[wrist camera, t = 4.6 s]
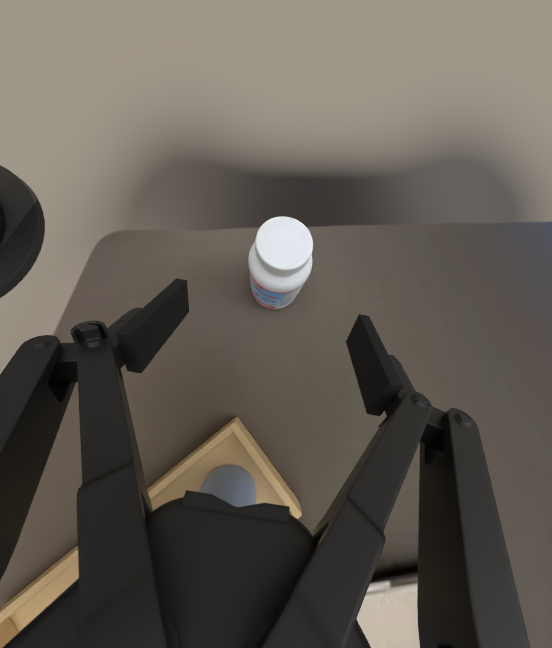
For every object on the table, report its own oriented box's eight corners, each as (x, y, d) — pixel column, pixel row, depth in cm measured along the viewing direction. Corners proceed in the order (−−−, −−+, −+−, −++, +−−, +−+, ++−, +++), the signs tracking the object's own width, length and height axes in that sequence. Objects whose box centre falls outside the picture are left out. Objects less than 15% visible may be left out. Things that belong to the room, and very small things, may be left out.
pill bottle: (241, 283, 28) (229, 233, 17) (279, 257, 29) (290, 194, 18) (270, 320, 28) (277, 293, 17) (307, 292, 29) (337, 249, 18)
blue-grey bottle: (189, 512, 23) (106, 689, 11) (215, 455, 24) (168, 555, 12) (241, 536, 23) (219, 742, 11) (265, 477, 24) (270, 602, 12)
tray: (68, 715, 20) (44, 760, 18) (5, 603, 21) (-25, 632, 19) (298, 500, 25) (302, 514, 22) (236, 415, 26) (234, 421, 23)
